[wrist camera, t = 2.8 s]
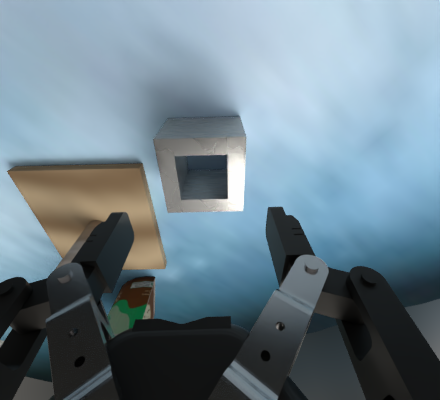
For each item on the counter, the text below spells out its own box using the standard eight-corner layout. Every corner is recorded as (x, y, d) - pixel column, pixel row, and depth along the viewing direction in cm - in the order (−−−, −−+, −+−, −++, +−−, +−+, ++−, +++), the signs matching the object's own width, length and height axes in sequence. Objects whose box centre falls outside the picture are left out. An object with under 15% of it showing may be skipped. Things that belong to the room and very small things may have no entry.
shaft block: (15, 166, 21) (-88, 227, 14) (142, 163, 21) (103, 223, 14) (74, 264, 29) (28, 333, 22) (166, 262, 29) (149, 332, 22)
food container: (107, 265, 29) (63, 351, 21) (155, 270, 30) (130, 356, 21) (116, 314, 36) (85, 393, 28) (154, 317, 37) (136, 396, 28)
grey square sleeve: (167, 118, 18) (153, 139, 14) (240, 116, 18) (246, 136, 14) (177, 181, 22) (167, 212, 18) (238, 179, 22) (243, 211, 18)
